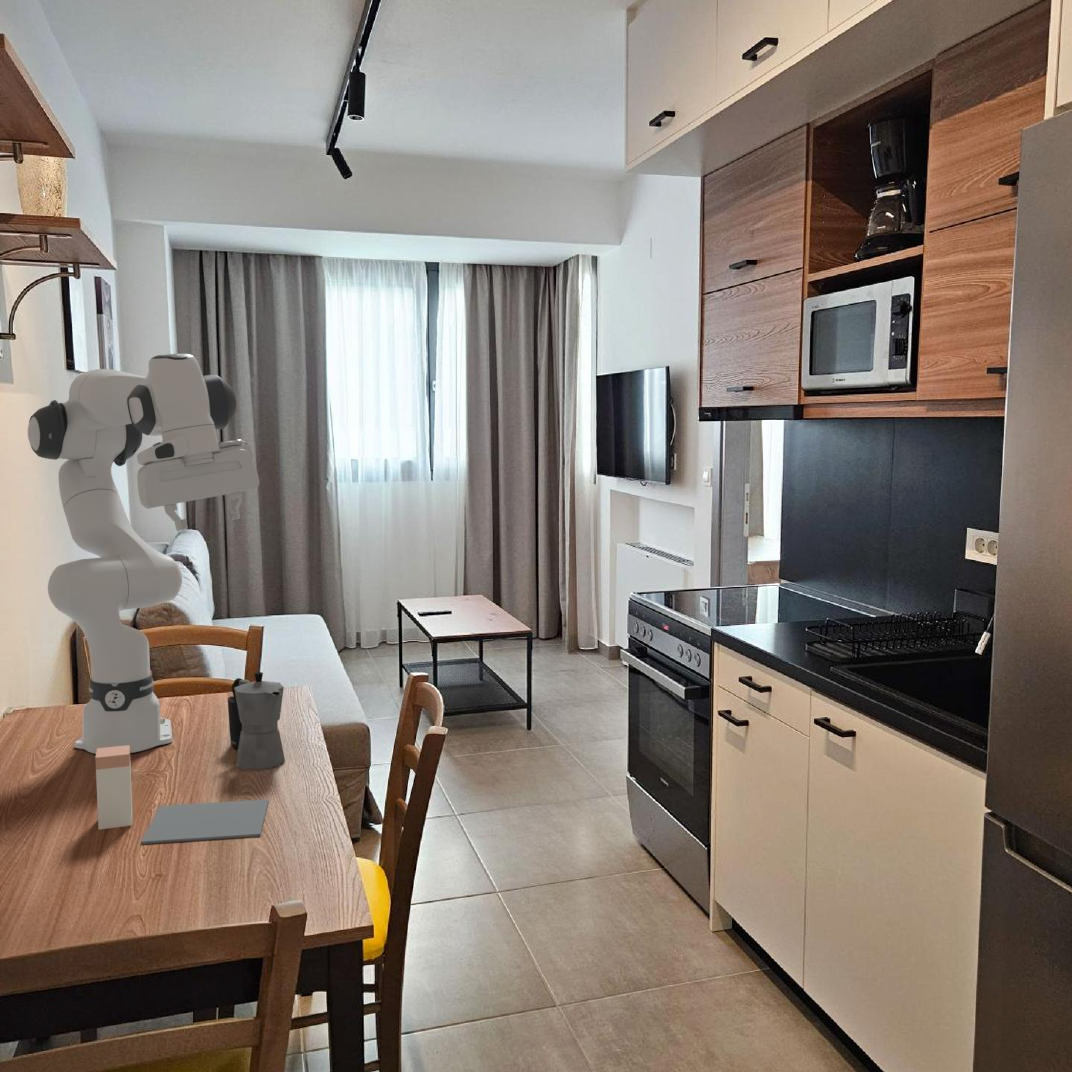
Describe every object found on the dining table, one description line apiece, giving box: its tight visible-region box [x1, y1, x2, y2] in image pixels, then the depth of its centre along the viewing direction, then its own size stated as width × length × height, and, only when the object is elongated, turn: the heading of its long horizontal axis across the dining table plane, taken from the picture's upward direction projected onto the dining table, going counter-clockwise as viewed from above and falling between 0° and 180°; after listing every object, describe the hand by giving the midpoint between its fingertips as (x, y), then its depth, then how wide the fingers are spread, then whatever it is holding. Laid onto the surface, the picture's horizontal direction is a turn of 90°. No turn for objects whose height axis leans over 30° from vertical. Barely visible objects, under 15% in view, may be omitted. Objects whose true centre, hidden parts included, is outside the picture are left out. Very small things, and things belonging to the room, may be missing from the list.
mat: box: [140, 798, 270, 845], centre depth 162 cm, size 15×18×1 cm
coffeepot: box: [231, 671, 286, 771], centre depth 191 cm, size 15×9×18 cm, turn 50°
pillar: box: [95, 745, 133, 831], centre depth 161 cm, size 5×5×12 cm
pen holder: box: [227, 695, 242, 751], centre depth 201 cm, size 9×9×10 cm
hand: (209, 524), depth 170 cm, fingers open, 8 cm apart
